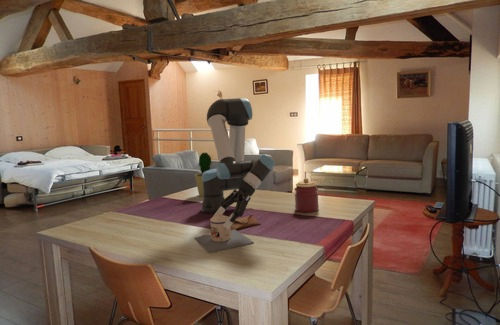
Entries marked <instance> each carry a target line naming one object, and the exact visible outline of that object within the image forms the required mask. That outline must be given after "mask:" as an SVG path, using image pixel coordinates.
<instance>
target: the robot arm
mask: <svg viewBox="0 0 500 325" xmlns="http://www.w3.org/2000/svg"><path fill="white" fill-rule="evenodd" d="M252 119H253V108H252V105H251V101H250V99H249V100H248V98H245V97H244V98H241V97H239V98H220V99H217V100H215V101H214V102H213V103H211V105H210V106H209V108H208V110H207V113H206V122H207V125H208V126H209V127H210V129H211V130H210V131H211V134H212V139H213V142H214V146H215V149H216V153H217V154H216V155H217V157H218V161H219V162H218V163H217V164H216V168H211V169H210V170H207V171H205V172H204V173H203V174H202V182H203V197H202V201H201V206H200V208H201V212H202V213H205V214H214V215H213V216H212V217H215V216H216V215H218V213H222V215H224V213H225V211H228V209H229V207H230V206H231V205H233V204H235V203H236V204H235V208H234V211H232V213H231V214H230V215H229V216H228V217H229V218H228V220H227V221H226V222H225V224H224V225H223V226H224V227H225V228H227V229H229V228H230V226H231V225H232V224H233V223H234V221H235V220H236V219H238V218H243V216H244V213H245V210H246V209H247V207H248V204H249V202H250V200H251V199H252V198H251V197H252V196H253V194H254V193H255V192H256V190H257V189H258V188H259V187H260V186H261V184H262V183H263V181H264V180H265V179H266V177H267V176H268V175H269V174H270V173H271V171H272V170H273V168H274V167H275V165H276V161H275V160H274V159H273V158H272V157H270V155H268V154H265V153H263V154H261V155H260V156H259V157H258V159H252V160H245V145H246V143H245V141H246V127H247V126H248V125H249V121H251V120H252ZM226 124H227V125H228V127H229V133H228V128H227V126H226ZM225 191H226V192H227V191H232V192H230V194H229V195H228V196H226V197H225V195H224V192H225Z"/></svg>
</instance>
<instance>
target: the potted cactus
mask: <svg viewBox="0 0 500 325" xmlns="http://www.w3.org/2000/svg"><path fill="white" fill-rule="evenodd" d="M198 165H199V166H198V167H199V168H200V172H199V173H196V174H194V177H195V178H194V180H195V182H196V188H197V192H198V195H199V198H203V182H202V174H203V173H204V172H205V171H207V170H211V169H212V168H211V166H212V156H211V155H210V154H209V153H208V152H201V154H200V155H199V157H198Z"/></svg>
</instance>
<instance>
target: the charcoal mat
mask: <svg viewBox="0 0 500 325" xmlns="http://www.w3.org/2000/svg"><path fill="white" fill-rule="evenodd" d="M194 240H195V241H196V242H197V243H198V244H199V245H200V246H202V248H203V249H204V250H206V251H207V252H208V254H211V253H217V252H221V251H225V250H229V249H235V248H239V247H244V246H248V245H252V244H254V243H255V242H254V241H253V240H251V239H250V238H248V237H247V236H246V235H244V234H243V233H241V232H239V230H231V238H230V239H229V240H227V241H223V242H216V241H213V240H212V238H211V233H210V234H206V235H201V236H196V237H194Z"/></svg>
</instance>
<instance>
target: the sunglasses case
mask: <svg viewBox="0 0 500 325" xmlns="http://www.w3.org/2000/svg"><path fill="white" fill-rule="evenodd" d="M256 226H261V223H260V222H259V221H258V220H257V219H256V218H255V217H254V215H252V214H251V215H247V216H244V217H243V216H242V217H237V219H236V220H235V221H234V223H233V224H232V225H231V226H230V228H231V230H237V231H241V230H243V229H247V228H252V227H256Z"/></svg>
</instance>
